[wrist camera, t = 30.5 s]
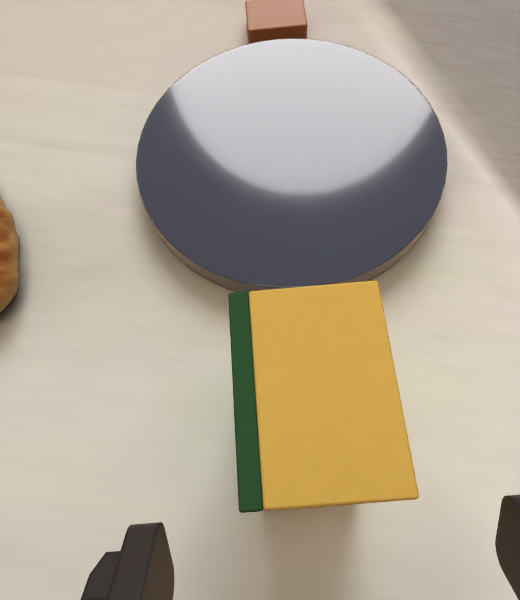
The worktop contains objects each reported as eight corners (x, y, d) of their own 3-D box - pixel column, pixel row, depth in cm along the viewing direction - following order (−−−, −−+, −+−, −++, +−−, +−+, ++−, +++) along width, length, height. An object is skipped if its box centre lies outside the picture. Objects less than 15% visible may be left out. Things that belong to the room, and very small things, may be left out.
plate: (138, 313, 24) (129, 303, 23) (146, 71, 31) (140, 51, 30) (473, 284, 24) (484, 272, 22) (406, 45, 31) (412, 25, 29)
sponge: (259, 498, 20) (238, 512, 11) (251, 369, 23) (227, 291, 13) (358, 490, 20) (420, 499, 11) (339, 361, 23) (378, 279, 13)
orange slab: (249, 50, 31) (247, 30, 30) (246, 21, 32) (245, 0, 31) (306, 44, 31) (307, 24, 30) (301, 15, 32) (302, -6, 31)
